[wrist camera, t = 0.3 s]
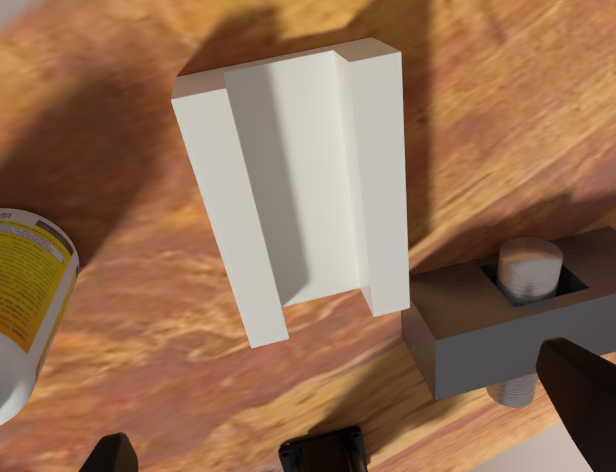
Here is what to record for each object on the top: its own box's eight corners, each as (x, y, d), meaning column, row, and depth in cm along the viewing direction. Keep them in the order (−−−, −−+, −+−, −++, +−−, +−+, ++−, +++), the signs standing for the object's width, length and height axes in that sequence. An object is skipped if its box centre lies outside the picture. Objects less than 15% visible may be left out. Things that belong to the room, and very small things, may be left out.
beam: (594, 286, 31) (656, 340, 27) (402, 336, 30) (435, 400, 26) (610, 226, 28) (682, 276, 24) (399, 279, 27) (435, 340, 23)
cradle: (387, 269, 27) (409, 307, 24) (246, 304, 26) (251, 348, 23) (372, 36, 19) (401, 51, 17) (176, 76, 19) (170, 99, 16)
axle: (518, 365, 33) (544, 401, 31) (477, 375, 33) (499, 412, 30) (540, 232, 27) (576, 263, 24) (489, 243, 26) (519, 276, 24)
